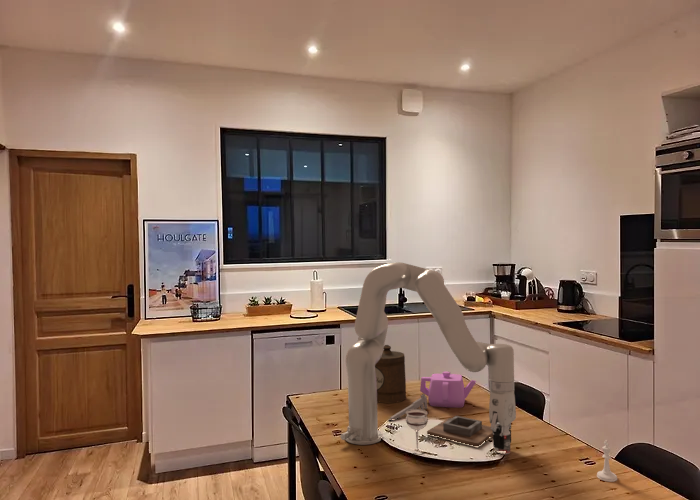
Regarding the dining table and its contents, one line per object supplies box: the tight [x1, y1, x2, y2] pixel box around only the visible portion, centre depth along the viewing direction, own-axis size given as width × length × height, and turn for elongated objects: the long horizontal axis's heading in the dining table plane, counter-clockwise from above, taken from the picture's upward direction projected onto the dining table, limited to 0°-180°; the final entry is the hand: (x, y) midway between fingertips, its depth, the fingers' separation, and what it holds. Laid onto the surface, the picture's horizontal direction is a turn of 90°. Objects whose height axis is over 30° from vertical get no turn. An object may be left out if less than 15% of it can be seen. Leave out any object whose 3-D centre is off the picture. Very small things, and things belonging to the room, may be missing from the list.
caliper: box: [388, 393, 428, 420], centre depth 189 cm, size 20×1×6 cm, turn 131°
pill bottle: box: [493, 422, 511, 455], centre depth 154 cm, size 5×5×8 cm
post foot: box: [426, 415, 493, 446], centre depth 168 cm, size 16×18×4 cm
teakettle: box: [419, 370, 477, 408], centre depth 202 cm, size 17×17×12 cm
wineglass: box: [405, 408, 429, 450], centre depth 155 cm, size 7×7×12 cm
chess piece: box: [596, 439, 618, 483], centre depth 136 cm, size 5×5×10 cm
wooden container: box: [375, 344, 407, 404], centre depth 210 cm, size 15×15×22 cm
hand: (502, 444), depth 154 cm, fingers closed on pill bottle, 4 cm apart
